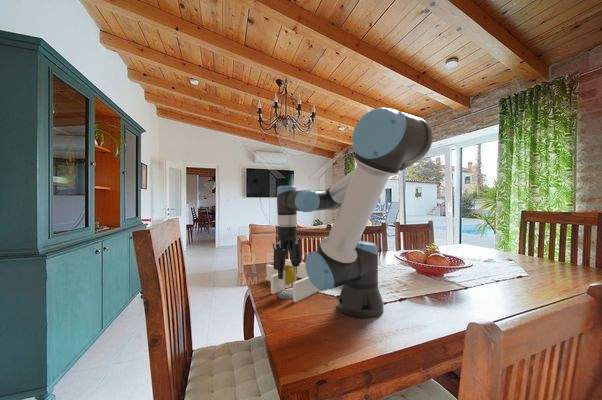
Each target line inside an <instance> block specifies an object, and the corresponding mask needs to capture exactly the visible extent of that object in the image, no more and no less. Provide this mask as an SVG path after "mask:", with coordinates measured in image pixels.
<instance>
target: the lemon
mask: <svg viewBox="0 0 602 400" xmlns="http://www.w3.org/2000/svg"><path fill="white" fill-rule="evenodd" d="M284 270H285V280H286V284H287V285H289V284H291V285H292V284H293V283H292V282H293V281H294V279H295V271H294V269H293V268H292V267H291V266H289V265H287V266H285V265H284Z"/></svg>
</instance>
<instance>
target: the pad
mask: <svg viewBox="0 0 602 400" xmlns="http://www.w3.org/2000/svg"><path fill="white" fill-rule="evenodd" d="M287 290H288V291H286V290H285V291H286V292H283V293H282V291H279V292H277V297H278V298H279V299H281V300H293V289H292V290H289V289H287Z"/></svg>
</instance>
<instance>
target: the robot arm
mask: <svg viewBox="0 0 602 400" xmlns="http://www.w3.org/2000/svg"><path fill="white" fill-rule="evenodd" d="M433 138H434V137H433V131H432V128H431V125H430V124H429V123H428V122H427V121H426V120H425V119H423V118H421V117H419V116H415V115H412V114H408V113H405V112H402V111H399V110H397V109H394V108H387V107H378V108H374V109H371V110H370V111H368V112H366V113H364V115H363V116H361V117H360V118H359V120H357V123H356V125H355V126H354V127H353V132H352V137H351V140H352V141H351V142H353V143H352V147H353V149H354V151H355V153H354V156H353V159H354V162H355V164H356V167H355V169H353V170H352V171H350V172H349V173H348V174H346V175H344V176H343V177H342V178H341V179H339V180H338V181H337V182H335V183H334V184H333V185H331V186H330V187H327V189H323V190H322V189H321V190H320V189H319V190H315V189H313V190H310V189H303V190H297V187H296V185H279V186H277V191H276V213H277V225H278V226H277V237H278V241H277V242H276V243H274V242H273V243H272V248H273V266H274V269H275V270H278V279H279V286H280V287H283V288H285V287H286V280H285V270H284V267H285V260H286V258H287V254H288V253H289V260H291V263H292V265H293V266H291V267H292V268H293V269H294V271H295V279H294V281H293V282H296V281H298V280H297V279H298V277H297V266H298V267H299V264H300V263H301V262H302V253H301V243H302V239H301V238H297V237H296V236H297V235H298V226H297V224H298V220H297V219H298V217H297V216H298V214H297V213H298V212H303V213H311V212H316V211H335V210H338V211H337V214H336V216H335V219H334V221H333V224H332V226H331V228H330V231H329V234H328V236H326V237H324V238H322V239H321V241H320V243H319V245H318V248H317V250H314V251H311V252H309V253H307V255H306V257H305V262H304V263H305V267H306V272H307V275H308V278H309V280H310V281H311V283H312V284H313V285H314V286H315V287H316V288H317V289H319V290H320V291H323V292H324V291H328V290H329V291H330V290H333V289H335V288H338V287H341V286H342V288H341V291H340V293H339V296H338V306H337V307H338V309H339V311H341V312H342V313H343V314H345V315H348V316H350V317H355V318H360V319H361V318H362V319H371V318H376V317H379V316H381V315H382V314H383V313H384V301H383V299H382V295H381V292H380V289H379V274H378V273H379V267H378V266H379V262H378V261H379V257H378V256H379V252H378V246H377V244H376V243H374V242H371V241H365V240H361V239H362V236H363V233H364V231H365V229H366V227H367V224H368V222H369V220H370V218H371V216H372V215H373V213H374V210H375V208H376V205H377V203H378V201H379V198H380V197H381V194H382V192H383V190H384V188H385V186H386V184H387V182H388V179H389V178H390V177H393V176H396V175H397V174H398V173H399V172H401V171H404V170H406V169H408V168H409V167H411V166H413V165H414V164H415V163H417V162H419V161H420V160H421V159H423V158H424V157H426V155H427V154H428V153H429V151H430V149H431V147H432V145H433ZM293 282H292V283H291V284H293Z"/></svg>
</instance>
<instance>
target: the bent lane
mask: <svg viewBox="0 0 602 400" xmlns="http://www.w3.org/2000/svg"><path fill="white" fill-rule="evenodd" d="M287 265H289V266H293V265H292V263H291V259H285V265H284V267H285V266H287ZM265 267H266V281H268V282H270V294H272V295H274V294H276V293H277V294H278V293H280V292H281V291H280V290H281V289H284V290H286V289H285V288H287V289H289V288H291V287H292V291H293V299H292V300H293V301H292V302H293V303H297V302H299V301H302V300H304V299H306V298H308V297H310V296H312V295H313V294H316V293H318V292H320V291H321V290H319V289H317V288H316V287H315V286H314V285H313V284H312V283H311V281H310V280H309V278H308V275H307V272H306V267H305V262H302V261H301V263H300V264H299V267H298V266H297V278H300V279H299V280H297V281H296V282H293V283H291V284H289V285H287V284H286V287H285V288H283V287H280V286H279V279H278V270H275V269H274V265H271V264H266V266H265Z"/></svg>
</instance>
